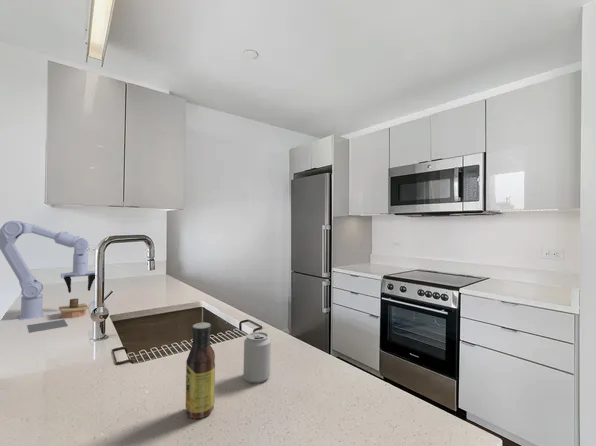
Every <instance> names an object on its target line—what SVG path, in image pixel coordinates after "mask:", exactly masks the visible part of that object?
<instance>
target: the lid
mask: <svg viewBox="0 0 596 446" xmlns="http://www.w3.org/2000/svg"><path fill="white" fill-rule="evenodd" d="M58 309H59V311H60V314H61V313H63V312H70V311H77V310H84V309H86V310H90V307H89V306H88V305H87V304H86V303H79V298H71V299H69V305H64V306H58Z"/></svg>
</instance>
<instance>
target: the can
mask: <svg viewBox="0 0 596 446" xmlns="http://www.w3.org/2000/svg"><path fill="white" fill-rule="evenodd" d="M269 336H270V335H269V334H268V333H267V332H264V331H252V332H249V333H248V334H247V335H246V338H245V339H244V342H243V344H244V345H243V378H244V379H245V380H246V381H247V382H249V383H250V384H251V383H252V384H261V383H264V382H266V381H267V380H268V379H269V378H270V376H271V363H272V362H271V361H272V360H271V359H272V358H271V355H272V351H271V350H272V348H271V347H272V346H271V345H272V341H271V340H272V339H271V338H270V337H269Z"/></svg>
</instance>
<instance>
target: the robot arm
mask: <svg viewBox="0 0 596 446" xmlns="http://www.w3.org/2000/svg"><path fill="white" fill-rule="evenodd" d="M23 234H36V235H39V236H41V237H44V238H48V239H53V240H54V242H55V244H57V245H61V246H64V247H67V248H70V249H71V248H73V249H74V251H73V255H72V272H64V273H63V272H62V273H60V278H61V279H63V280H64V282H65V285H66V287H67V291H68V293H69V294H71V292H72V278H75V277H87V278H88V279H87V291H91V288H92V285H93V283H94V282H95V279H96V278H95V276H96V275H95V271H96V270H88V260H89V258H88V257H89V253H88V251H89V250H88V248H89V241H88V240H86V239H85V238H83V237H80V235H73V234H70V233H69V232H68V231H65V232H63V231H60V232H56V231H52V230H50V229H46V228H44V227H42V226H38V225H35V224H32V223H27V222H22V221H18V220H16V221H15V220H9V221H7V222H5V223H4V224H3V225H2V226H1V227H0V251H1V253H2V254H3V256H4V258H5V260H6V261H7V263H8V264H9V266H10V268H11V269H12V272H13V273H14V275H15V276H16V278H17V280H18V281H19V282H18V283H19V286H20V288H21V295H22V296H21V299H20V300H21V305H20V314H19V315H18V318H19V320H20V321H24V320H31V319H38V318H44V317H45V315H44V313H43V302H44V301H43V296H44V295H43V294H42V293H41V292H42V291H43V289H44V286H43V283H41V282H40V281H38V280H37V278H36V276H34V275H33V273H32V272H31V270H30V269H29V266H28V265H27V263H26V261H25V260H24V258H23V257H22V254H21V253H20V251H19V250H18V248H17V246H16V241H17V240H18V238H19V237H21V236H22V235H23Z"/></svg>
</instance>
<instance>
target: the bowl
mask: <svg viewBox="0 0 596 446" xmlns="http://www.w3.org/2000/svg"><path fill="white" fill-rule="evenodd" d="M86 314H87V309H84V310H77V311H70V312H63V313H61V312H60V318H61V319H74V318H79V317H83V316H85V315H86Z"/></svg>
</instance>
